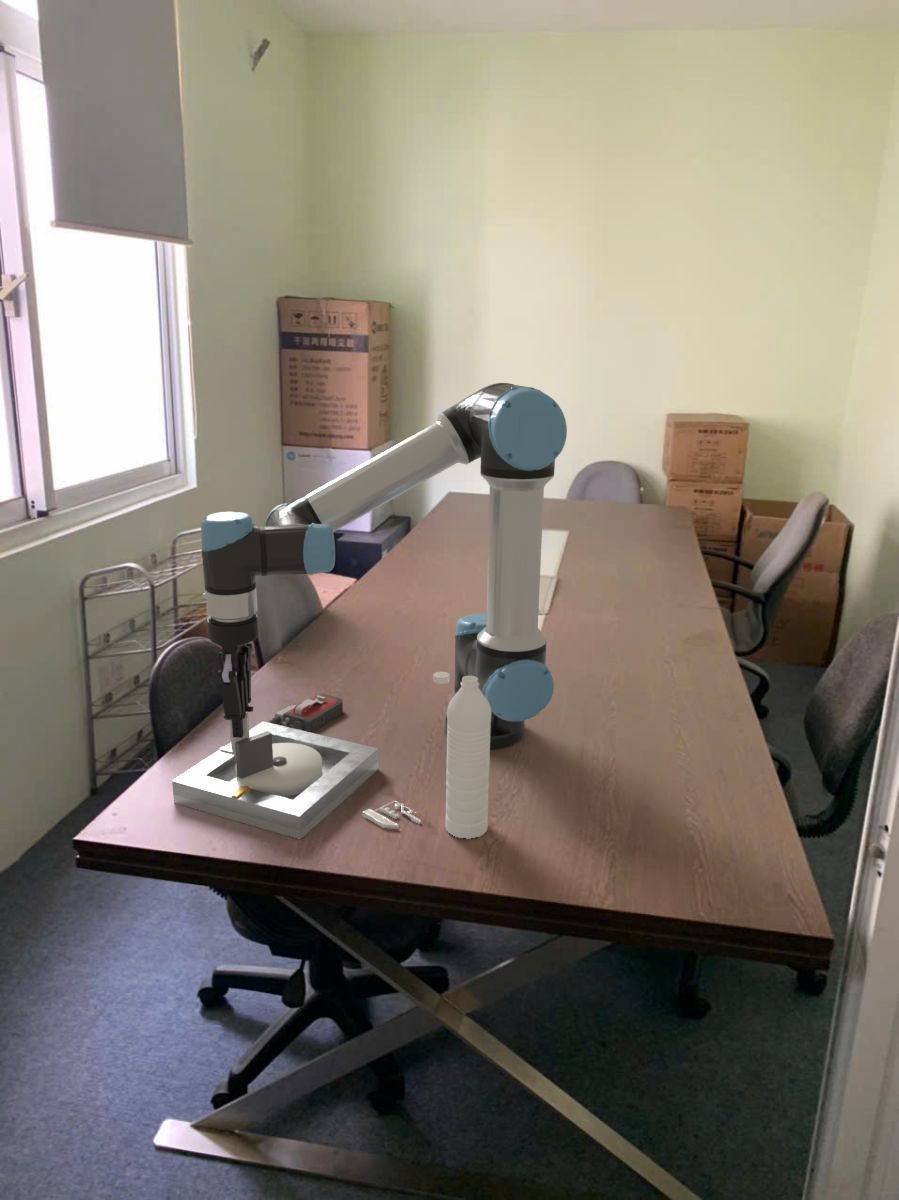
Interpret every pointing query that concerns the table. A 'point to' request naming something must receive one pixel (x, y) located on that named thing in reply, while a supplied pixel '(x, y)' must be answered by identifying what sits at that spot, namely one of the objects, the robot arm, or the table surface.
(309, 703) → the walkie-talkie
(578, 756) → the table surface
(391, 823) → the model kit parts
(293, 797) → the silver rectangular frame
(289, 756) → the dial
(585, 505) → the table surface
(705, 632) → the table surface
